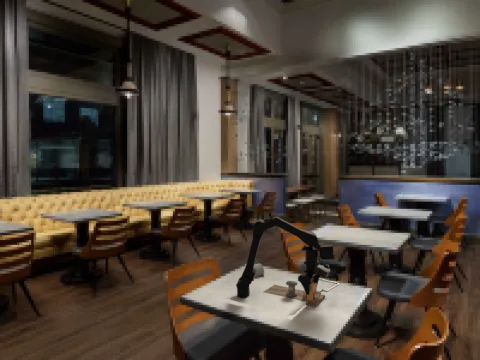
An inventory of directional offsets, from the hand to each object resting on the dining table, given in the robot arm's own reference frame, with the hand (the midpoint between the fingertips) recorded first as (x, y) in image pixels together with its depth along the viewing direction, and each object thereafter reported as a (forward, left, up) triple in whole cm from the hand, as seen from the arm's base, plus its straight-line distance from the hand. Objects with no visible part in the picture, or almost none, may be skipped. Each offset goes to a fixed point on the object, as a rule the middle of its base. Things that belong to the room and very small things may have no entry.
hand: (311, 291), depth 165 cm
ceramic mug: (+15, +40, -5) cm, 43 cm away
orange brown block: (0, 0, -3) cm, 3 cm away
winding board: (+1, +10, -5) cm, 11 cm away
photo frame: (+24, +6, -6) cm, 25 cm away
